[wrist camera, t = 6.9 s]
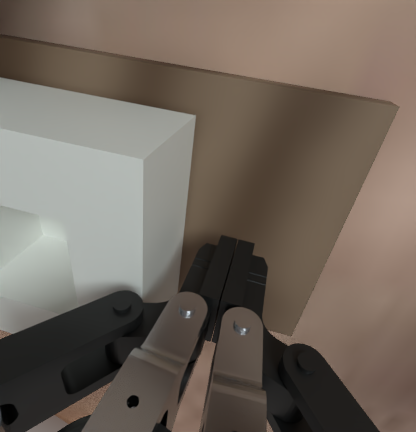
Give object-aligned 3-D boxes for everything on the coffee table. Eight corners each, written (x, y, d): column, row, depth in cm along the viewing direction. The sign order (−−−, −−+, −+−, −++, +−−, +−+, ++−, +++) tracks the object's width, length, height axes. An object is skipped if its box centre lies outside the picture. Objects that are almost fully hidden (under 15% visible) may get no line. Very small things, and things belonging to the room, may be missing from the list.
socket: (196, 115, 11) (143, 159, 7) (177, 291, 17) (141, 374, 13) (-26, 72, 13) (-181, 89, 8) (24, 249, 18) (-55, 312, 14)
